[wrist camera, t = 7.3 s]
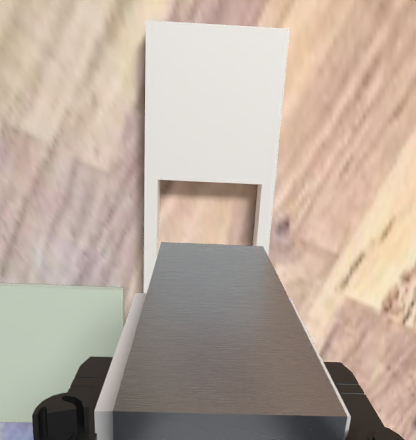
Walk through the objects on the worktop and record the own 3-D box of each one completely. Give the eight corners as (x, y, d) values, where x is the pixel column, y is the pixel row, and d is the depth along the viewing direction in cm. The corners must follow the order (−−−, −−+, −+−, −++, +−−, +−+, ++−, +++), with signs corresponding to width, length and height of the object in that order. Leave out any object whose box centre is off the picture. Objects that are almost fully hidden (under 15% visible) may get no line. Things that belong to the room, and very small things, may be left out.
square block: (159, 332, 20) (115, 580, 9) (161, 242, 19) (112, 411, 8) (254, 335, 20) (317, 582, 9) (263, 246, 19) (347, 416, 8)
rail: (145, 376, 36) (142, 391, 34) (149, 27, 28) (145, 20, 26) (251, 379, 36) (254, 394, 34) (283, 35, 28) (289, 28, 26)
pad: (-22, 416, 36) (-26, 421, 36) (-39, 281, 33) (-43, 284, 32) (124, 420, 37) (123, 424, 36) (123, 287, 33) (122, 290, 33)
